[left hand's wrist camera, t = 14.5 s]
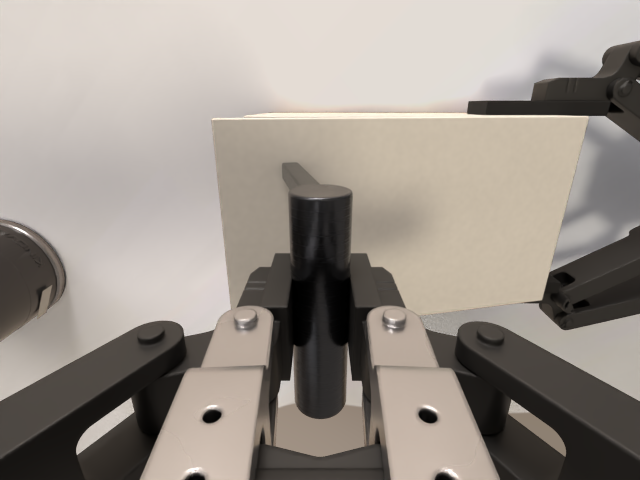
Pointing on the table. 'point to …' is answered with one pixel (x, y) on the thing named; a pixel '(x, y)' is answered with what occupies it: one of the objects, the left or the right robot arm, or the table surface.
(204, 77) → the table surface
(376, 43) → the table surface
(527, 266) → the lid
